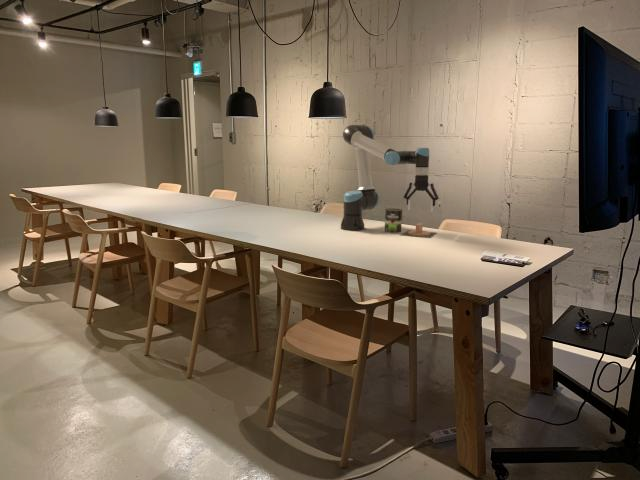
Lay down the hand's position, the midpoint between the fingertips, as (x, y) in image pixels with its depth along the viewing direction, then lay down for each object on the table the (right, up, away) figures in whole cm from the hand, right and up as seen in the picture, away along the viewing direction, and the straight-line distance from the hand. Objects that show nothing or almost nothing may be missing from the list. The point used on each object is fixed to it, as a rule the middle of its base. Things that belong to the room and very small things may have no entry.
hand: (420, 211), depth 280 cm
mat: (0, -14, +3) cm, 14 cm away
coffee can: (-15, -13, +10) cm, 22 cm away
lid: (0, -14, +3) cm, 14 cm away
